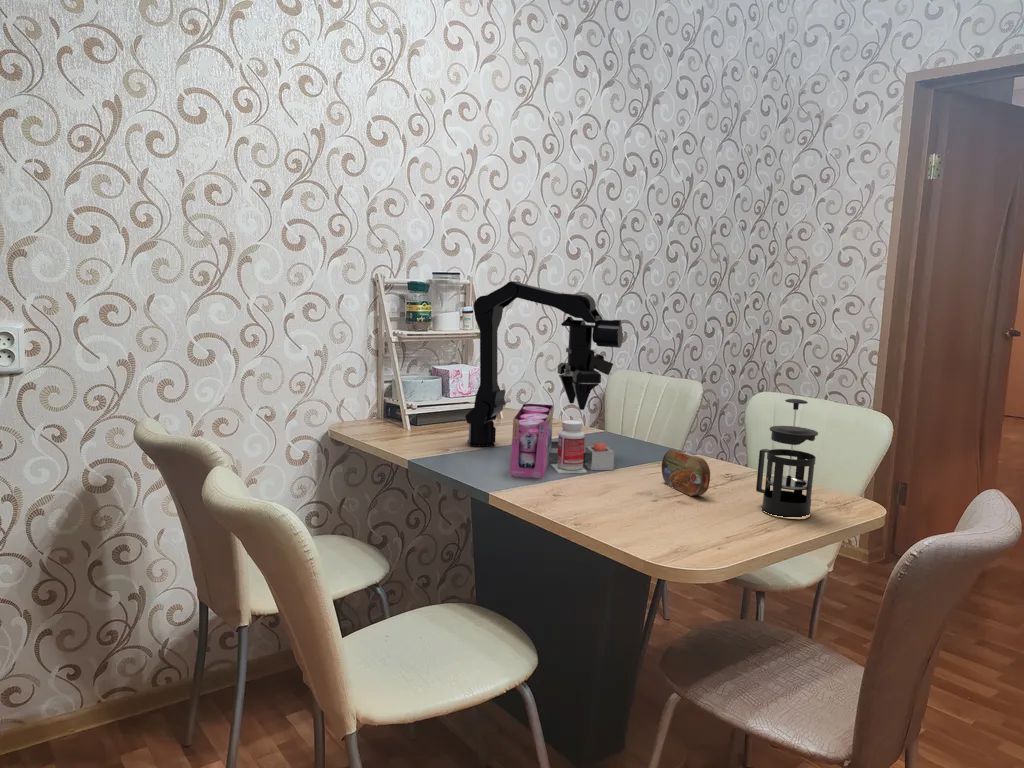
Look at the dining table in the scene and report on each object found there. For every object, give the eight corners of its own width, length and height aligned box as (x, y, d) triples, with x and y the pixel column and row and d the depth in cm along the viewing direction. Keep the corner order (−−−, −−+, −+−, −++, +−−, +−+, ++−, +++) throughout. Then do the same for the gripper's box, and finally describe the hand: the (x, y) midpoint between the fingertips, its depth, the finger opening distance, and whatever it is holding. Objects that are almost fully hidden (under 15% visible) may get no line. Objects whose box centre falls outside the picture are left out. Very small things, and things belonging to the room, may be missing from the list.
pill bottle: (588, 468, 171) (590, 422, 169) (571, 472, 166) (573, 425, 165) (569, 462, 175) (571, 418, 174) (551, 466, 171) (553, 421, 169)
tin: (659, 481, 163) (661, 445, 162) (671, 480, 164) (673, 444, 163) (698, 501, 149) (701, 461, 148) (711, 500, 151) (714, 461, 149)
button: (595, 457, 172) (596, 445, 171) (591, 454, 174) (592, 442, 174) (607, 457, 172) (608, 445, 172) (603, 454, 175) (604, 442, 175)
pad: (558, 473, 167) (558, 471, 167) (550, 465, 173) (550, 464, 173) (587, 472, 168) (587, 471, 168) (578, 465, 175) (578, 463, 175)
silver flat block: (542, 463, 175) (542, 453, 175) (530, 450, 188) (530, 441, 188) (604, 462, 179) (605, 452, 178) (588, 450, 191) (589, 440, 191)
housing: (591, 470, 170) (592, 451, 170) (584, 464, 176) (585, 446, 175) (613, 470, 172) (614, 451, 171) (605, 464, 177) (606, 446, 176)
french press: (822, 515, 143) (834, 401, 140) (799, 524, 137) (811, 405, 134) (768, 500, 152) (778, 393, 148) (744, 508, 146) (754, 396, 142)
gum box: (543, 482, 161) (546, 422, 159) (508, 479, 162) (510, 420, 160) (551, 456, 184) (554, 404, 182) (520, 454, 185) (523, 402, 183)
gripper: (623, 349, 172) (619, 413, 174) (599, 342, 190) (595, 400, 192) (578, 348, 170) (575, 413, 172) (558, 341, 188) (555, 400, 190)
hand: (576, 406), depth 182 cm, fingers open, 9 cm apart
